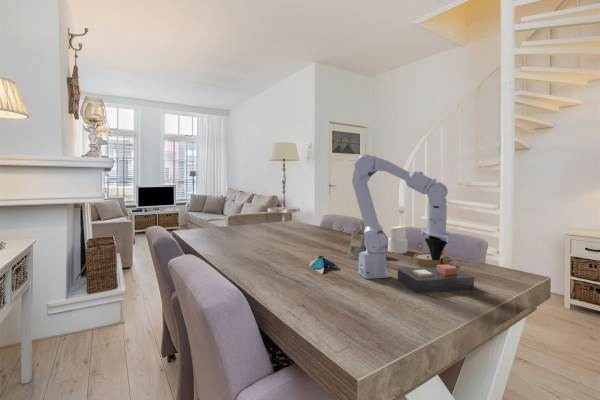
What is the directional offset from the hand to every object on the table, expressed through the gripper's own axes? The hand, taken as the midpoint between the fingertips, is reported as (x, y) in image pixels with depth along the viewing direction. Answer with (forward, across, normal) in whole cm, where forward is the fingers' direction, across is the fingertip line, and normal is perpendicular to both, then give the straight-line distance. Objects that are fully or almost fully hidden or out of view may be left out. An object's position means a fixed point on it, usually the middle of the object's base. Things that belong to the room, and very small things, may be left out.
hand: (435, 259), depth 100 cm
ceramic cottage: (+9, +39, +8) cm, 41 cm away
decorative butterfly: (+9, +24, +33) cm, 42 cm away
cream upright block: (+9, +46, -11) cm, 48 cm away
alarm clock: (+9, +23, -15) cm, 29 cm away
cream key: (+7, 0, +5) cm, 8 cm away
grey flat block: (+8, 0, 0) cm, 9 cm away
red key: (+5, 0, -4) cm, 7 cm away
